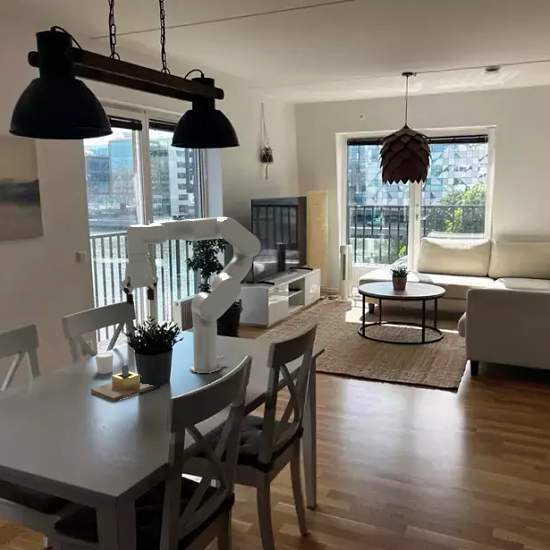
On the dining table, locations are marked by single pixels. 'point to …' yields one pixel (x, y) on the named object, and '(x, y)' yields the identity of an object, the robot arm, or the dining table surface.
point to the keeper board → (118, 391)
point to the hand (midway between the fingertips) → (140, 301)
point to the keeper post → (125, 371)
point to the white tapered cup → (104, 363)
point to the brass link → (125, 381)
